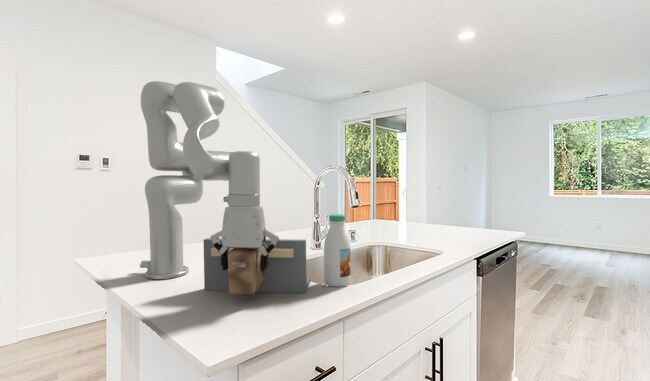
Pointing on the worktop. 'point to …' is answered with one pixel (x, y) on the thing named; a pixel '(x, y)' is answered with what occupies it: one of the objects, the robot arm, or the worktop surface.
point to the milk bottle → (337, 253)
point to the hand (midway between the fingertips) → (244, 269)
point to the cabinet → (244, 270)
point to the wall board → (279, 275)
